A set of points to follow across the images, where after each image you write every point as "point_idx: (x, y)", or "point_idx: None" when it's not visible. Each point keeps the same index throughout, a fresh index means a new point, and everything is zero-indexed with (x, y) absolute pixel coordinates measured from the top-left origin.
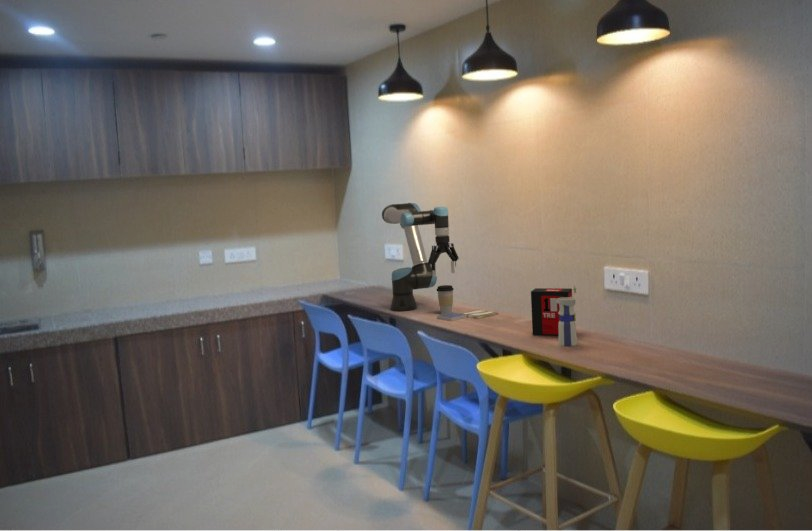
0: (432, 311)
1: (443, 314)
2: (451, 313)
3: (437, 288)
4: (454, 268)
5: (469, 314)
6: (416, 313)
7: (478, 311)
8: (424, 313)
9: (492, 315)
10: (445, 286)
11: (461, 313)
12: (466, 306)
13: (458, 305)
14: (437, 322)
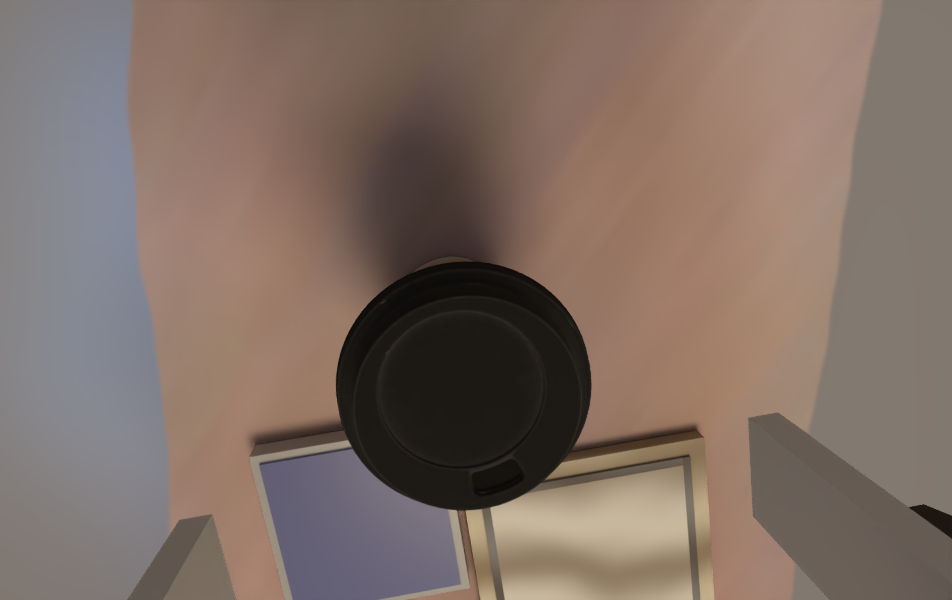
0: (415, 97)
1: (318, 461)
2: None
3: (387, 308)
4: (816, 584)
5: (504, 575)
6: (231, 55)
7: (636, 524)
8: (296, 127)
9: None
10: (484, 400)
11: None
12: (799, 143)
13: (792, 24)
14: None
